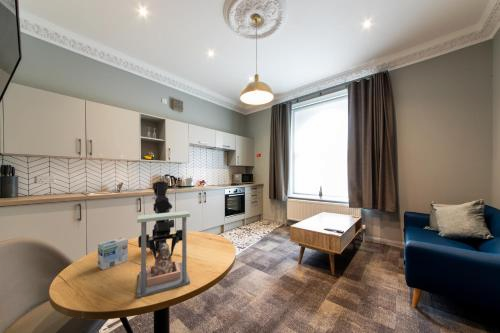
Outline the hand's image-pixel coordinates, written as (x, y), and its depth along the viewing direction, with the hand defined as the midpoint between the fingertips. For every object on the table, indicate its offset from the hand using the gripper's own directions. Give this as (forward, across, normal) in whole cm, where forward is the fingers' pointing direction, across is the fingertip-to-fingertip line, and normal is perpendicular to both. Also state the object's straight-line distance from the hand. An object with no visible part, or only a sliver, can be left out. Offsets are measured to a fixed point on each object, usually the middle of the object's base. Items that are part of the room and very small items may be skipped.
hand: (163, 257), depth 77 cm
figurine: (+4, 0, +6) cm, 7 cm away
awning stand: (+5, 0, +7) cm, 9 cm away
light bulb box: (-12, -21, +25) cm, 35 cm away
